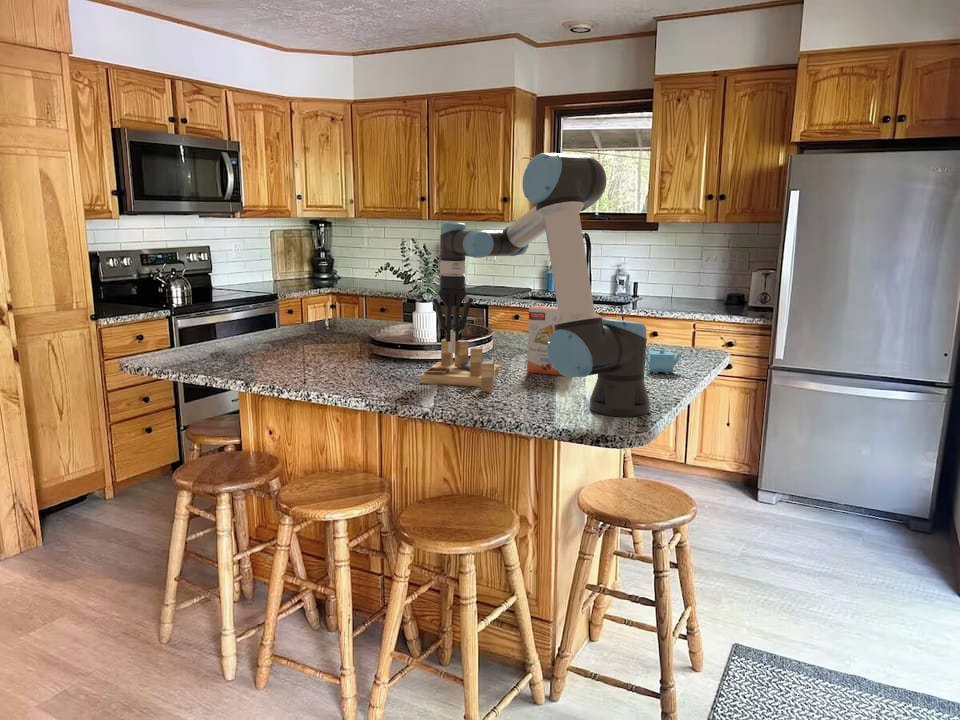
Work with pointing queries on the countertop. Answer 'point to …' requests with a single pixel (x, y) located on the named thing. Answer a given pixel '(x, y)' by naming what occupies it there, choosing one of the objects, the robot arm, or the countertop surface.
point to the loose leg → (487, 376)
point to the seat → (456, 369)
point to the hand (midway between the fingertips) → (451, 351)
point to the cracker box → (541, 339)
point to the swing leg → (461, 354)
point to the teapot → (661, 361)
